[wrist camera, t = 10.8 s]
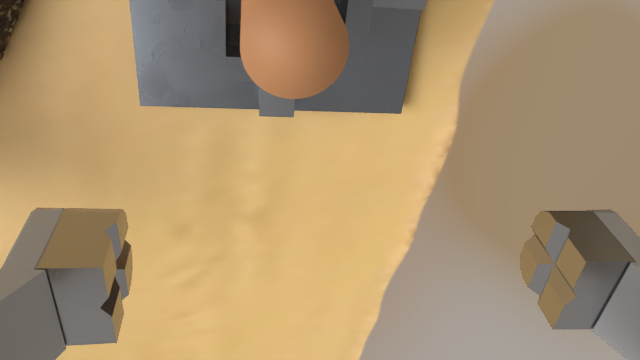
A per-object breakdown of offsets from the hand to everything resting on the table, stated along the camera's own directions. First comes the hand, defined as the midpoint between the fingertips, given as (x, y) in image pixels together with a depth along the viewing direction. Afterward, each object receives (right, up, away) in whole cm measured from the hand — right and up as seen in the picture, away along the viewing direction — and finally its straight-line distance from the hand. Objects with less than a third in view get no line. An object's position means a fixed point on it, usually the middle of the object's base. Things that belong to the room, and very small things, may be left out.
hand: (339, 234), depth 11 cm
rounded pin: (-3, +12, +18) cm, 22 cm away
